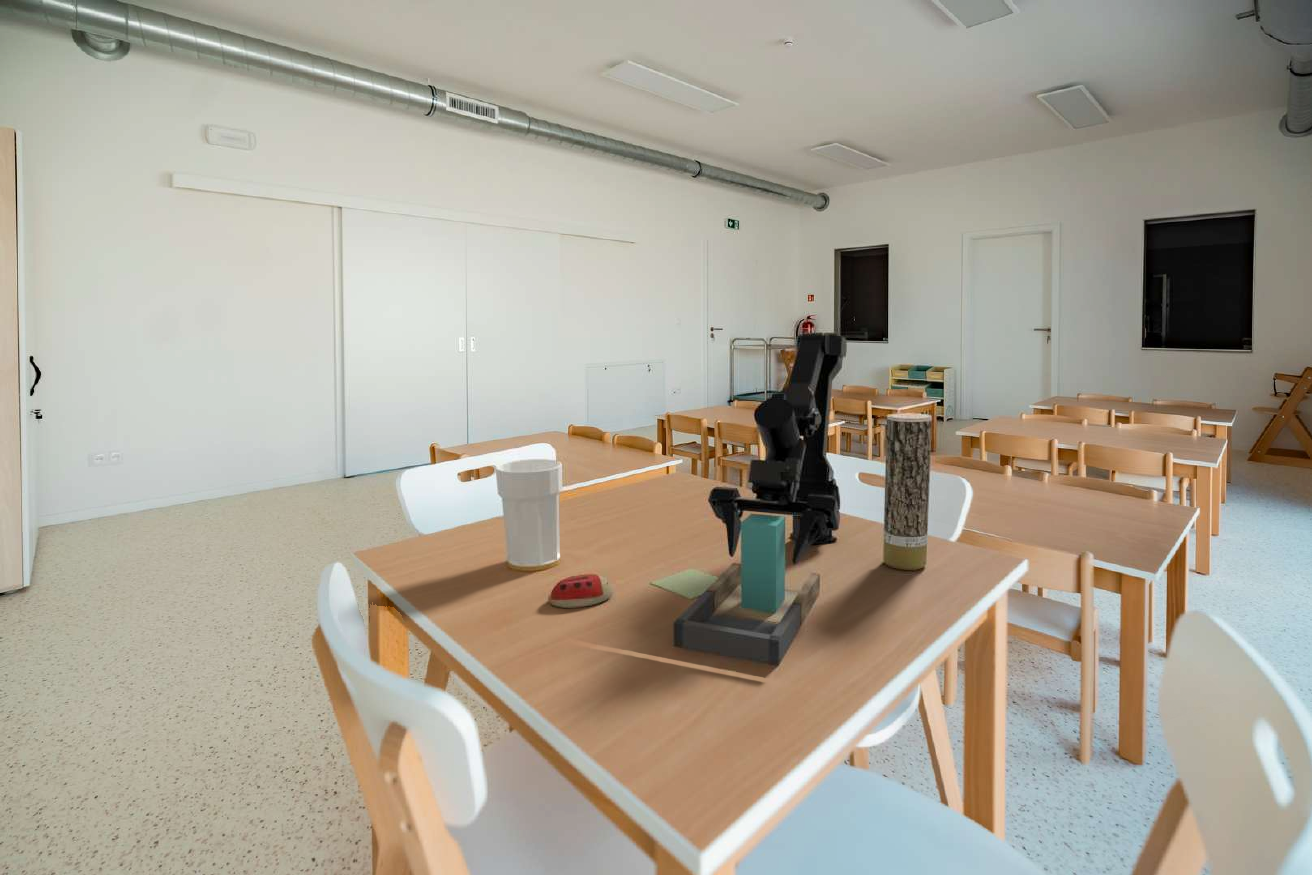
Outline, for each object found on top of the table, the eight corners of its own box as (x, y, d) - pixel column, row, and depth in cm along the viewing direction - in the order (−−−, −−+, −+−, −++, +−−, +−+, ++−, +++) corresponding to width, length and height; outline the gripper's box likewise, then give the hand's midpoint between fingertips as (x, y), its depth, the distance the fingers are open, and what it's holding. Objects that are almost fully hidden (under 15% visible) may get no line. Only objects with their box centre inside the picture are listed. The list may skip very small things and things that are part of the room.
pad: (691, 571, 113) (691, 568, 113) (731, 585, 106) (731, 582, 106) (650, 585, 107) (650, 582, 107) (691, 601, 100) (691, 598, 100)
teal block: (751, 594, 101) (751, 513, 99) (784, 599, 99) (785, 516, 97) (741, 607, 97) (740, 522, 95) (775, 612, 95) (776, 526, 93)
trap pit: (705, 614, 95) (705, 591, 95) (800, 630, 90) (800, 605, 89) (674, 648, 86) (673, 622, 85) (778, 668, 80) (778, 640, 79)
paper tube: (927, 560, 115) (933, 413, 111) (924, 574, 109) (930, 419, 105) (885, 555, 118) (889, 412, 114) (880, 568, 112) (884, 418, 108)
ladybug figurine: (619, 602, 101) (618, 579, 101) (556, 616, 97) (554, 592, 96) (603, 587, 107) (602, 566, 107) (542, 600, 103) (541, 577, 102)
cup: (580, 560, 119) (575, 463, 117) (527, 578, 111) (521, 475, 108) (540, 547, 127) (535, 456, 124) (488, 564, 119) (481, 466, 116)
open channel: (733, 584, 107) (733, 562, 106) (819, 596, 101) (819, 573, 100) (706, 613, 96) (706, 590, 95) (800, 629, 90) (801, 604, 90)
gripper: (711, 434, 102) (684, 524, 94) (837, 439, 94) (820, 538, 86) (729, 475, 110) (705, 561, 102) (846, 483, 103) (831, 577, 94)
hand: (761, 559), depth 96 cm, fingers open, 9 cm apart
